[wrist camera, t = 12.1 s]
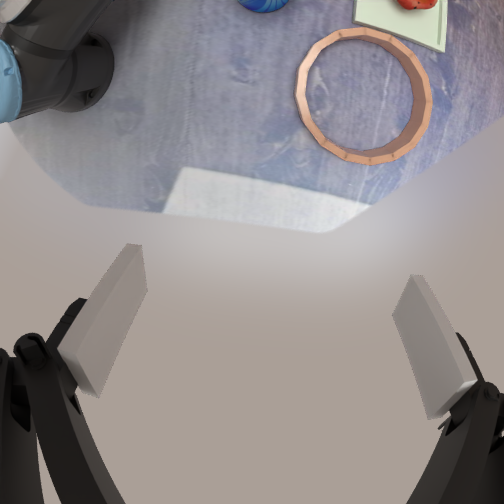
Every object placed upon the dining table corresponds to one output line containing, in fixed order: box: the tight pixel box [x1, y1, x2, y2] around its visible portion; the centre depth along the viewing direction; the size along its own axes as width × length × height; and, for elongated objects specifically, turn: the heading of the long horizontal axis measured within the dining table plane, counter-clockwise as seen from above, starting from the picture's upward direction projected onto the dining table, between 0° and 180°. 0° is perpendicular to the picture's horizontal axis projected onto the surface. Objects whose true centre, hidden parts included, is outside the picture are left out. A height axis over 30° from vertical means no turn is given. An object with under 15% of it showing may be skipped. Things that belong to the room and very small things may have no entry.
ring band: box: [294, 27, 433, 165], centre depth 38 cm, size 21×21×4 cm
